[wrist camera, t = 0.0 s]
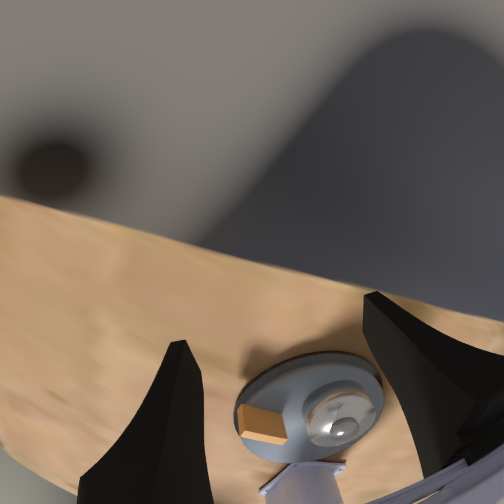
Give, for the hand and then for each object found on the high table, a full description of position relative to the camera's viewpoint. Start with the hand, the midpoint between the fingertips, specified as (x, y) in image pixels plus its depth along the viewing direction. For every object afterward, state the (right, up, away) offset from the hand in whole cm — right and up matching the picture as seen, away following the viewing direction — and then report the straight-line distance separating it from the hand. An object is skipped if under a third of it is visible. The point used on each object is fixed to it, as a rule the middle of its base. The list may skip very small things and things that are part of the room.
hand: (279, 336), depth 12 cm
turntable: (+5, -12, +16) cm, 21 cm away
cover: (+6, -10, +14) cm, 18 cm away
